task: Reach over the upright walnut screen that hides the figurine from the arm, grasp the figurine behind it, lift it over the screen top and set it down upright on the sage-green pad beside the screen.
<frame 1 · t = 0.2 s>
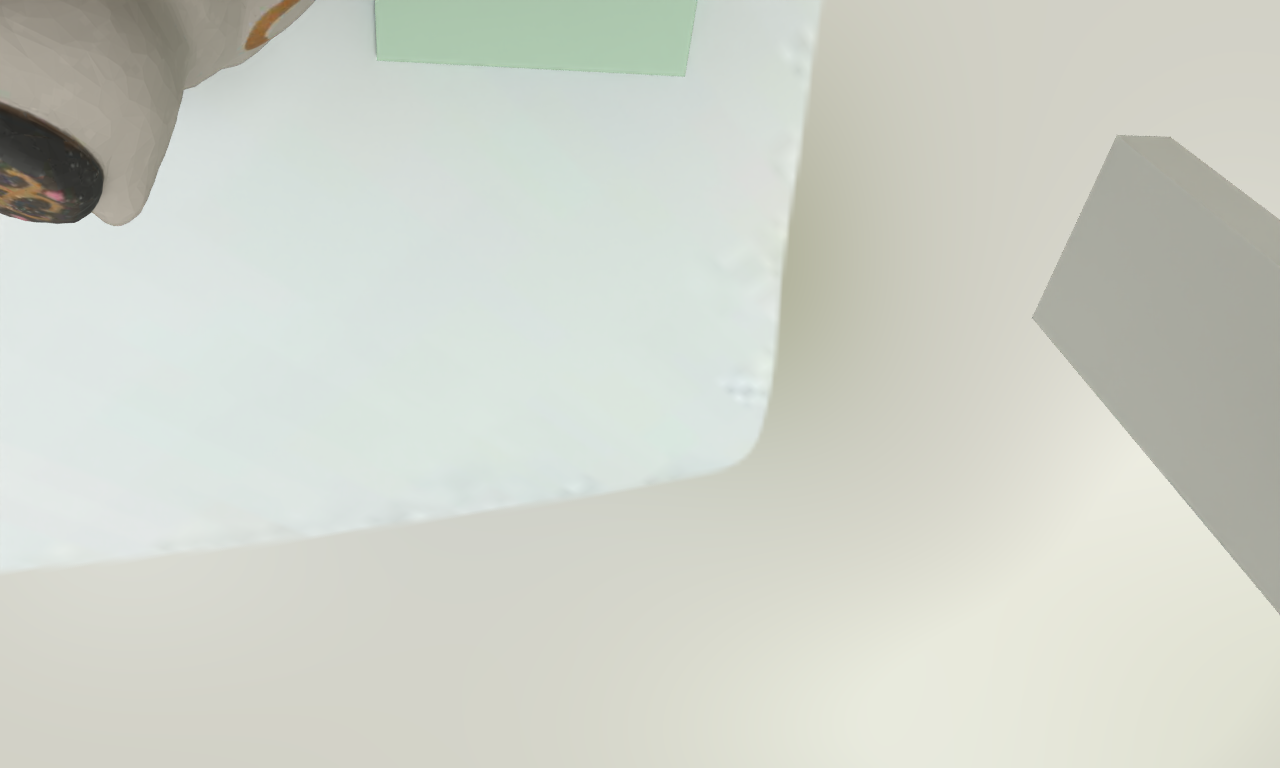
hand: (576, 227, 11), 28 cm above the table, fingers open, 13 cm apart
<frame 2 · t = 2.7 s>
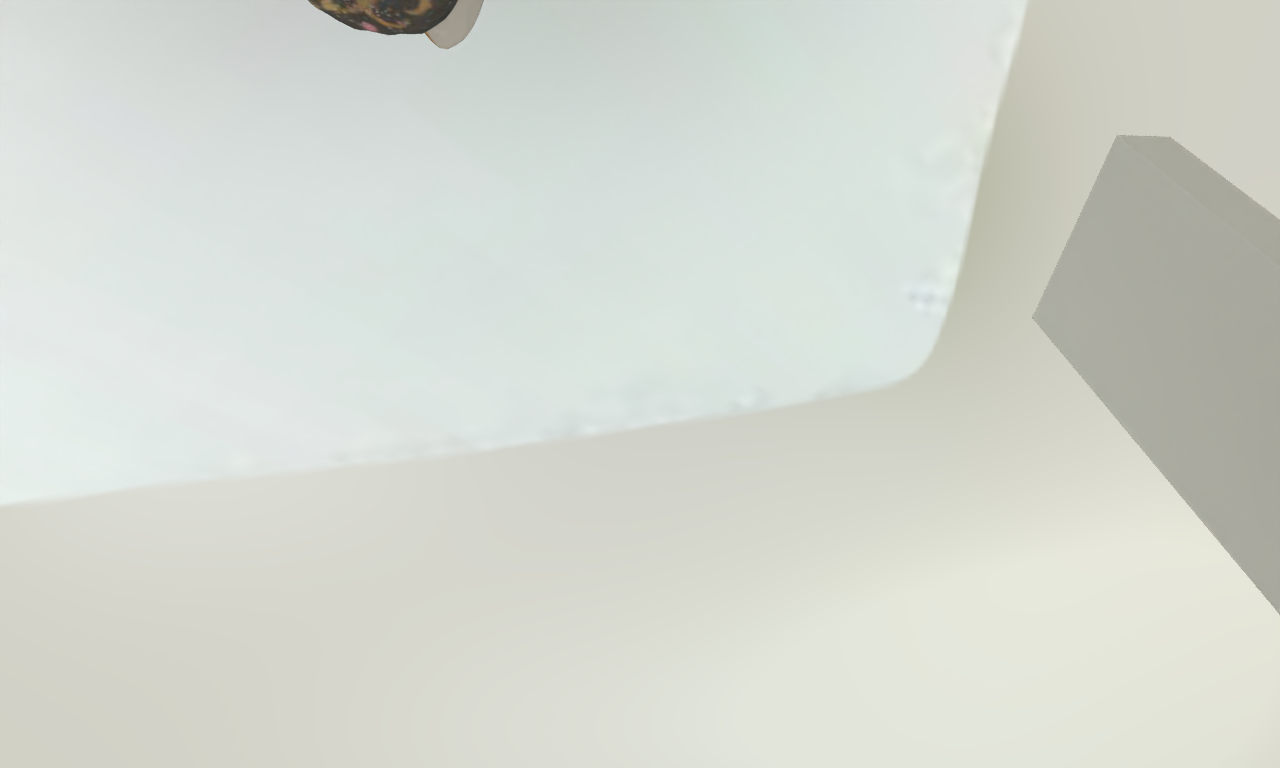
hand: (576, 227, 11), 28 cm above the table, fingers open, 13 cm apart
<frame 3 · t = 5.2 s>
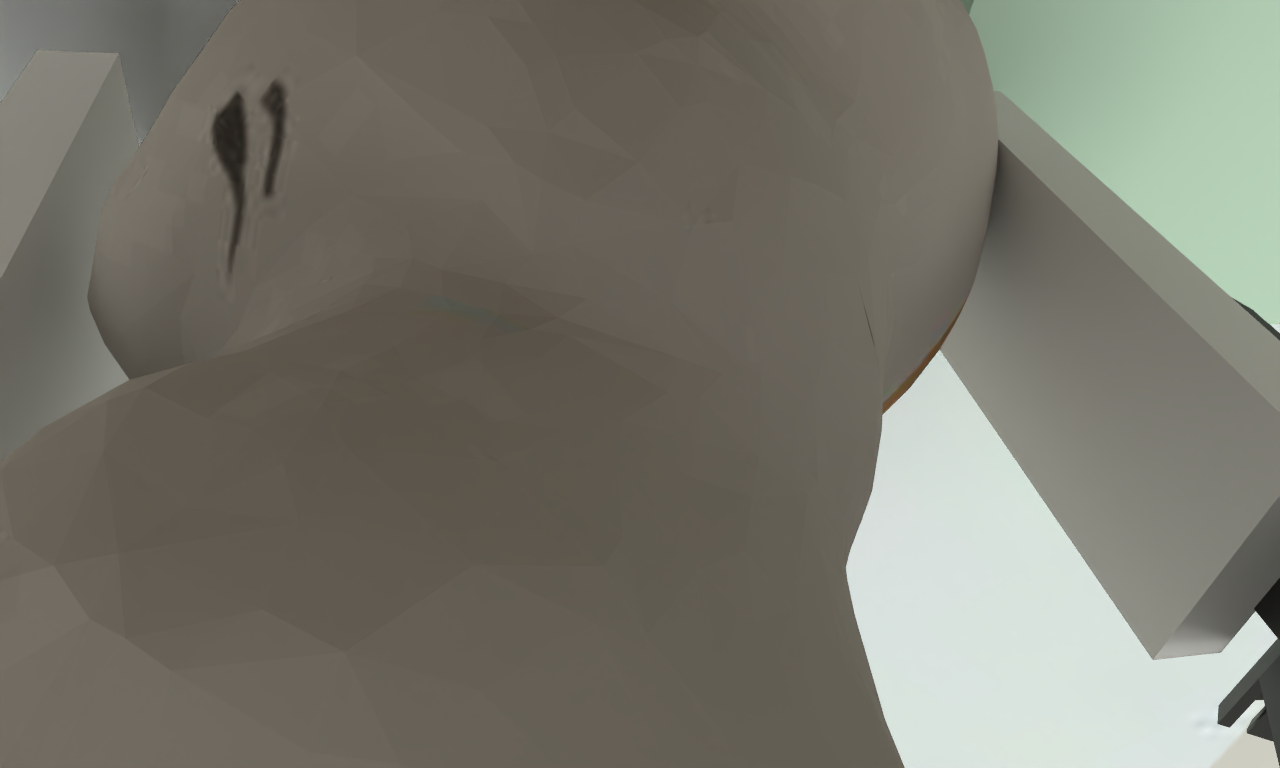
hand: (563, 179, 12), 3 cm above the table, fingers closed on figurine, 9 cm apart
figurine: (529, 82, 14), on the table, touching gripper
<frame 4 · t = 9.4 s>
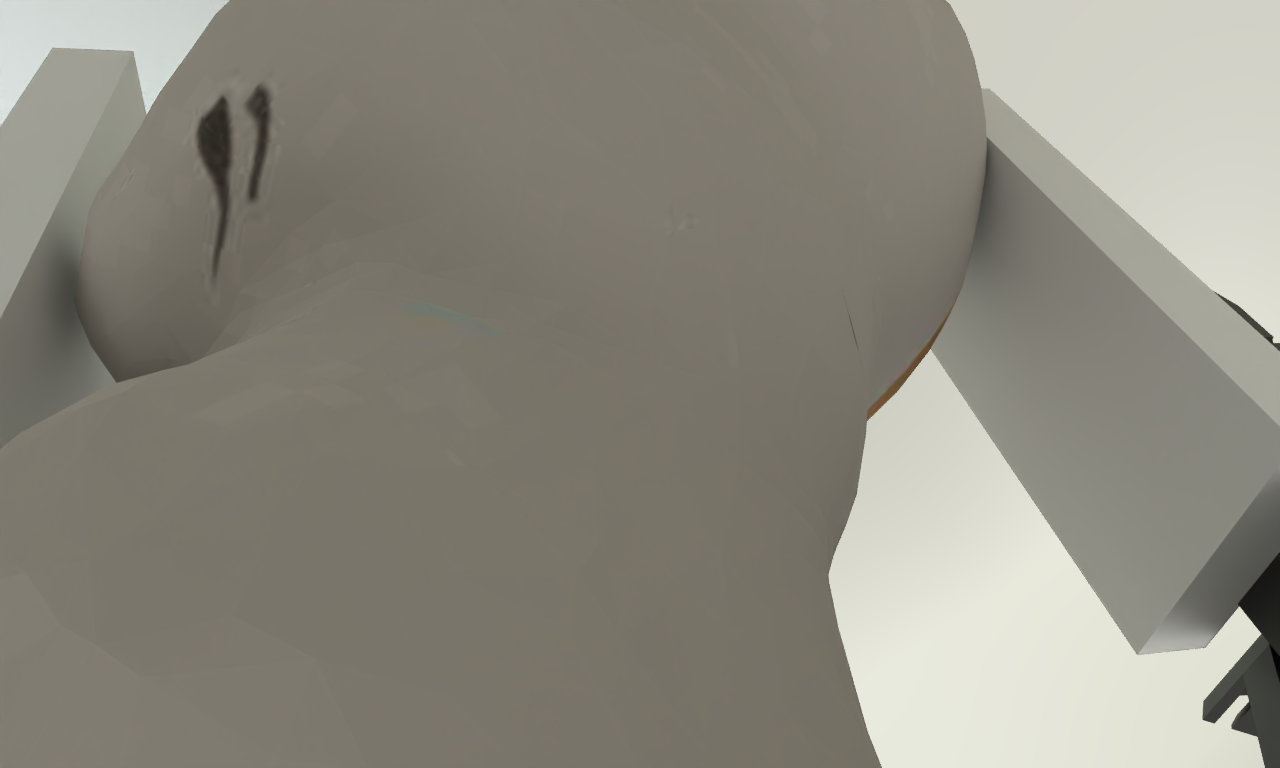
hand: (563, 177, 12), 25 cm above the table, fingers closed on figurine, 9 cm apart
figurine: (520, 84, 14), point 22 cm above the table, touching gripper
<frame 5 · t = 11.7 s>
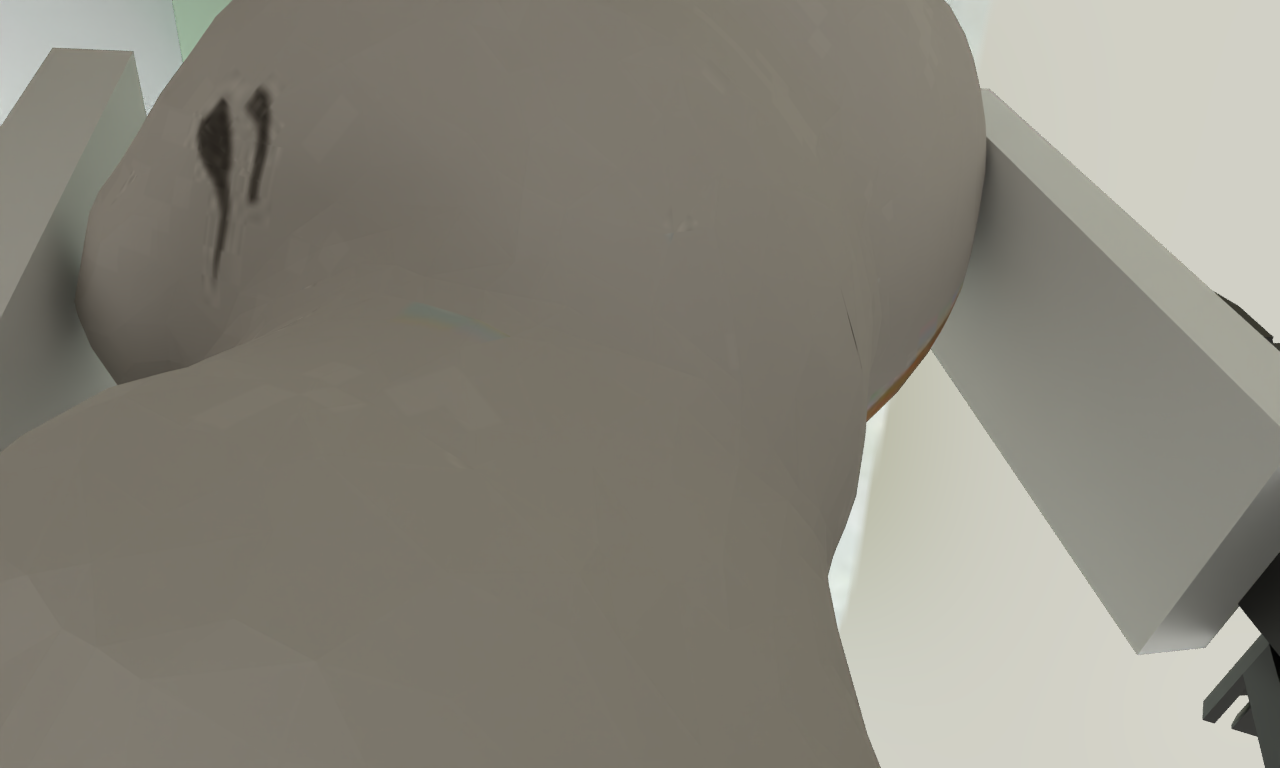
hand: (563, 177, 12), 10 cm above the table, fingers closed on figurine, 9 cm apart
figurine: (520, 85, 14), point 7 cm above the table, touching gripper
when the fingers open (4 cm above the table, at t = 13.5 s): figurine drops 1 cm, resting on pad.
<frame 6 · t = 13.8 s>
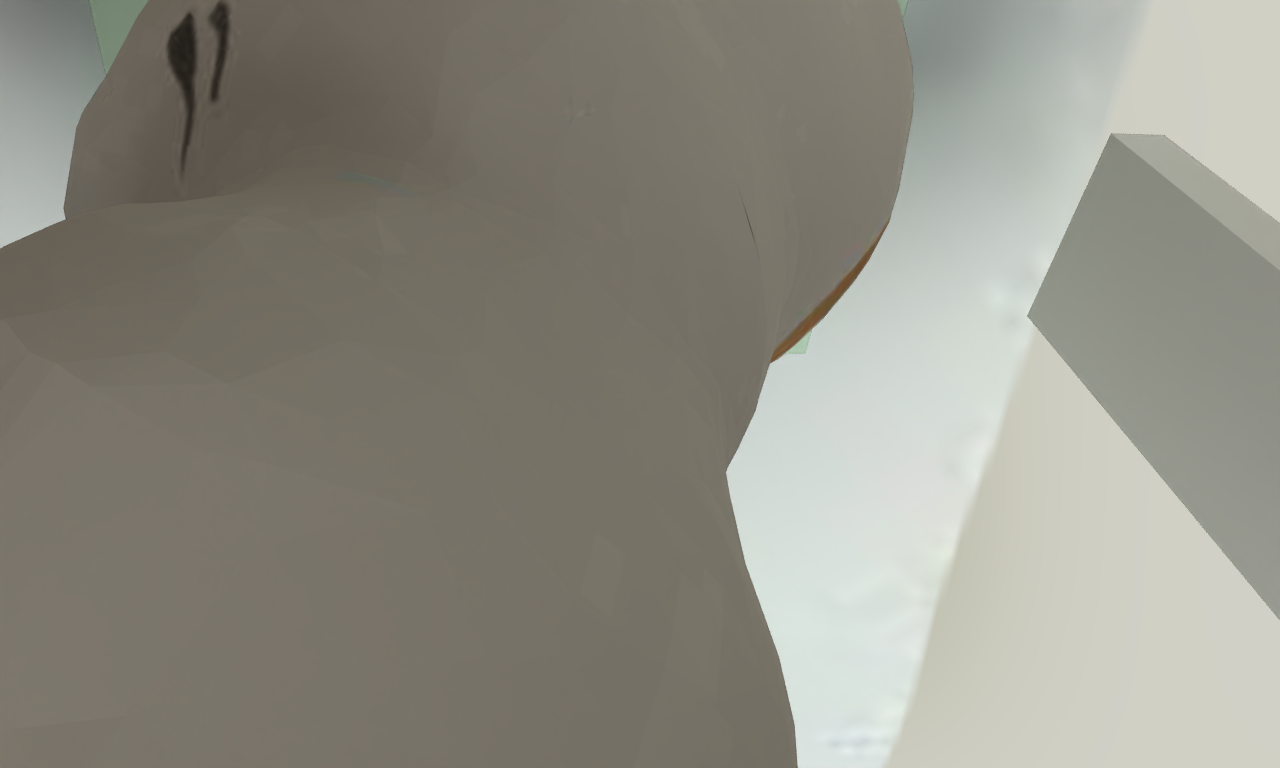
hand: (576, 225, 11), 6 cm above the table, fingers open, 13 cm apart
figurine: (490, 44, 15), resting on pad
pad: (524, 38, 15), on the table
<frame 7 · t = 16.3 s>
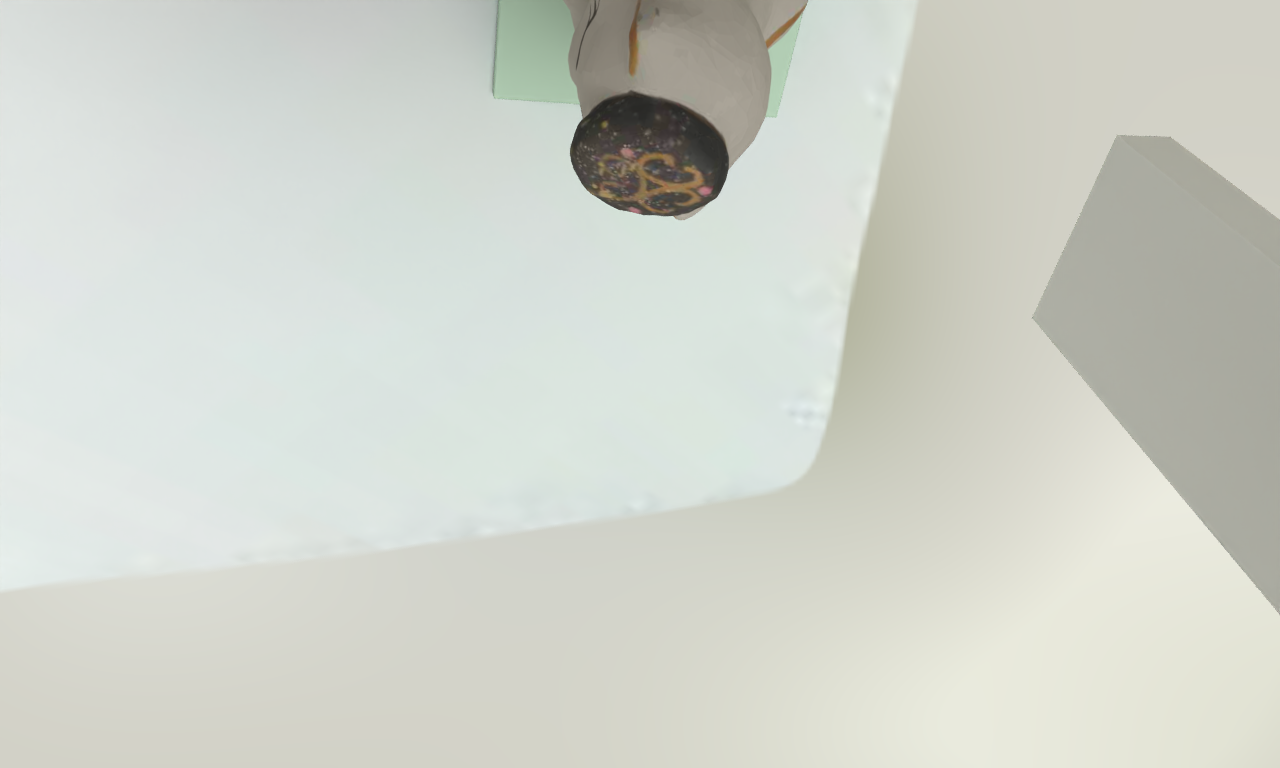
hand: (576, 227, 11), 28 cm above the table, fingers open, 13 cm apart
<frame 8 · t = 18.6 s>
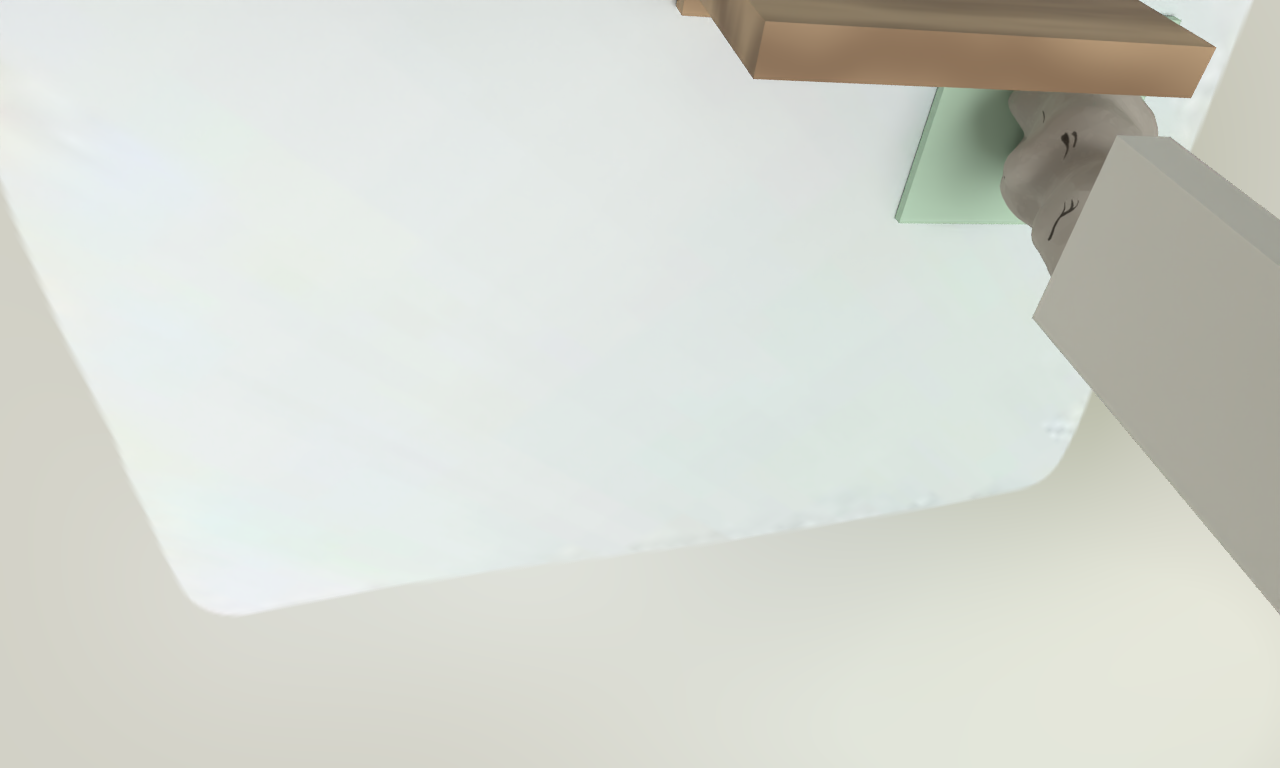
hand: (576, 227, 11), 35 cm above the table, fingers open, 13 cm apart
figurine: (1023, 124, 52), resting on pad
pad: (1028, 121, 53), on the table
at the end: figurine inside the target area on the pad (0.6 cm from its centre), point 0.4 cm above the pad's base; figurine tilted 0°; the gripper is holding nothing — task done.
